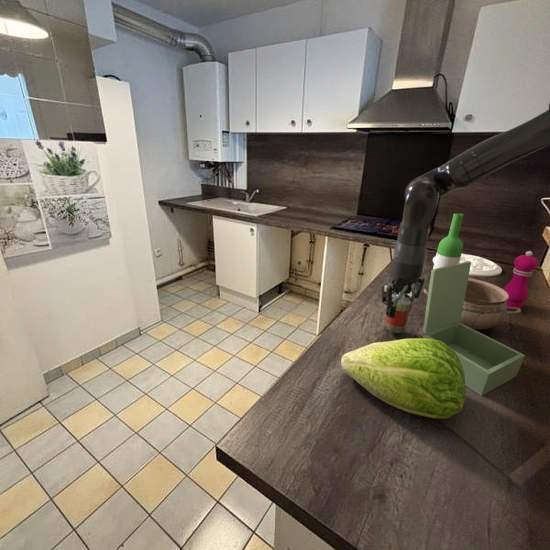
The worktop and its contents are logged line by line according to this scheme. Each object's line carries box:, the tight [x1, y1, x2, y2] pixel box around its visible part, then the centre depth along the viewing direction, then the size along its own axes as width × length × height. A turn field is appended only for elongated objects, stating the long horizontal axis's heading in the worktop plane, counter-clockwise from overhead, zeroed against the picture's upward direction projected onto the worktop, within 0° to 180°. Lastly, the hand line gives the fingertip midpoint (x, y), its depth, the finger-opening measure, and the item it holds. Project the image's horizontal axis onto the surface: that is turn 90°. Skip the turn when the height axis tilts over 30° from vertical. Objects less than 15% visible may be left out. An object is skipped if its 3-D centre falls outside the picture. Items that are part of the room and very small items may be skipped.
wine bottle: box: [428, 212, 464, 286], centre depth 106 cm, size 8×8×30 cm
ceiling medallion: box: [432, 253, 503, 278], centre depth 138 cm, size 28×28×3 cm
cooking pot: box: [423, 277, 522, 331], centre depth 89 cm, size 25×19×12 cm
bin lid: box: [422, 261, 471, 335], centre depth 74 cm, size 17×14×1 cm
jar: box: [384, 296, 412, 334], centre depth 83 cm, size 6×6×9 cm
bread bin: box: [422, 322, 526, 396], centre depth 71 cm, size 16×14×7 cm
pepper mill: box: [502, 250, 539, 310], centre depth 98 cm, size 7×7×20 cm
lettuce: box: [340, 337, 467, 420], centre depth 63 cm, size 15×24×16 cm
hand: (397, 314), depth 83 cm, fingers closed on jar, 5 cm apart
